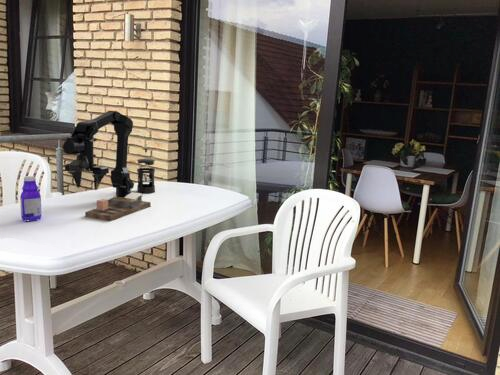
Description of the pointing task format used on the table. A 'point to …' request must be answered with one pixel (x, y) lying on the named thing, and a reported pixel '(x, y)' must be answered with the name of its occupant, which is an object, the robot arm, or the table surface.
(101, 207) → the peach tinted cube
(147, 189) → the french press
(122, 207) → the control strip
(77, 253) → the table surface
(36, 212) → the bottle
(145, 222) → the table surface
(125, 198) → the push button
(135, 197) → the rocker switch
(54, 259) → the table surface
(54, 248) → the table surface
